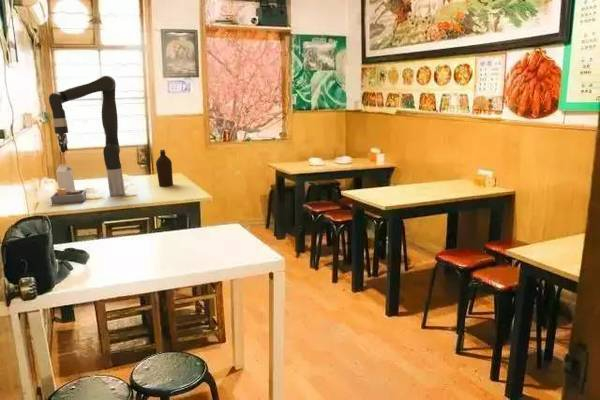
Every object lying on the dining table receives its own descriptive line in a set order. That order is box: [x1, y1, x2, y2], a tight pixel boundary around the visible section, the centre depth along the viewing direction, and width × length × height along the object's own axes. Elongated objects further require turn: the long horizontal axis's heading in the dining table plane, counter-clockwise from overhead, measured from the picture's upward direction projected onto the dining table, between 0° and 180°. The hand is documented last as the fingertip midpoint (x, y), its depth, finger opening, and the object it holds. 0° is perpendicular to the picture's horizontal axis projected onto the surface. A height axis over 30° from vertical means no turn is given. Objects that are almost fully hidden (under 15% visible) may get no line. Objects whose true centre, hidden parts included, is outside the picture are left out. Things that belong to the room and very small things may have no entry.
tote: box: [50, 189, 87, 205], centre depth 308 cm, size 18×14×5 cm
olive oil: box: [155, 149, 174, 188], centre depth 341 cm, size 11×11×25 cm
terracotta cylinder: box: [56, 188, 67, 196], centre depth 306 cm, size 5×5×7 cm
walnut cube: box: [70, 189, 81, 195], centre depth 309 cm, size 5×5×5 cm
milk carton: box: [55, 164, 76, 191], centre depth 332 cm, size 7×7×19 cm
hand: (64, 151), depth 310 cm, fingers open, 8 cm apart
